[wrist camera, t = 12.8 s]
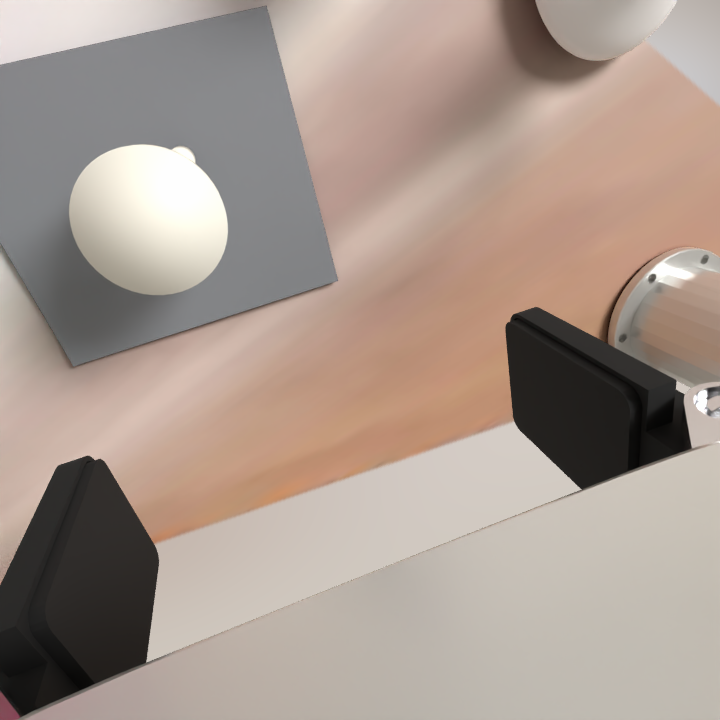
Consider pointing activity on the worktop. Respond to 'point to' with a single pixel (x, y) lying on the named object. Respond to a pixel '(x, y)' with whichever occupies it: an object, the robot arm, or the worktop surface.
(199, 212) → the stool
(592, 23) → the flower in vase
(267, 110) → the mat
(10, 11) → the worktop surface
